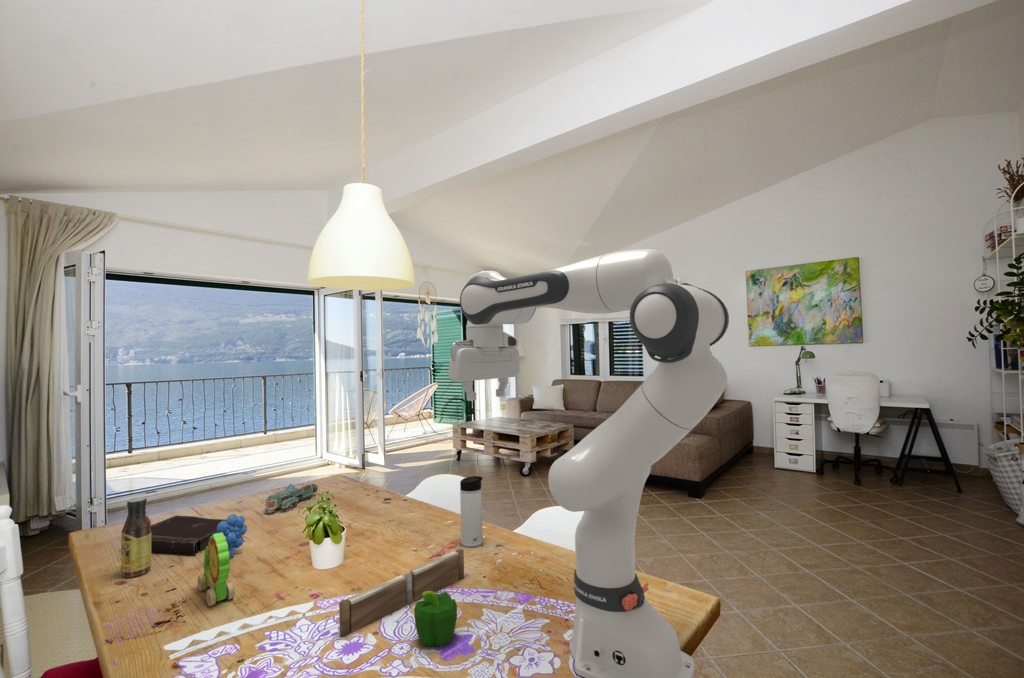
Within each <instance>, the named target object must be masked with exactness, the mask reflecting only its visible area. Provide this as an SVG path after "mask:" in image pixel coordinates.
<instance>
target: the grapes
mask: <svg viewBox="0 0 1024 678" xmlns="http://www.w3.org/2000/svg"><path fill="white" fill-rule="evenodd" d="M223 520H224V521H221V522H220V523H219V524H218V525H217V533H221V532H222V533H223V534H224V536H225V538H226V542H227V544H228V551H229V556H230V559H231V558H233V557H234V555H235V553H236V549H239V548H240V547H242V546H243V544H244V541H245V540H244V537H243V536H244V535H245V534H246V533H247V531H248V526H247V525H246V524H245V521H246V519H245V516H244V515H239V516H238V515H237V514H234V513H232V514H230V515H229V516H228V517H227V518H226V519H223ZM225 520H226V521H225ZM217 533H214V534H217Z"/></svg>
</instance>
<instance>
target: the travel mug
mask: <svg viewBox="0 0 1024 678" xmlns="http://www.w3.org/2000/svg"><path fill="white" fill-rule="evenodd" d="M482 480H483V476H480V475H479V476H477V475H475V476H474V475H473V476H468V477H467V476H466V477H465V478H464V477H463V478H462V479H461V480H460V481H459V482H460V483H459V485H460V488H459V489H460V492H459V495H460V497H459V498H460V499H459V500H460V529H461V530H460V536H461V537H460V538H461V539H460V540H461V541H460V542H461V543H460V544H461V546H462V547H463V548H466V549H477V548H480V547H483V545H484V541H483V539H484V538H483V535H484V533H483V532H484V531H483V502H482V501H483V500H482V499H483V498H482V495H483V493H482Z"/></svg>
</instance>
